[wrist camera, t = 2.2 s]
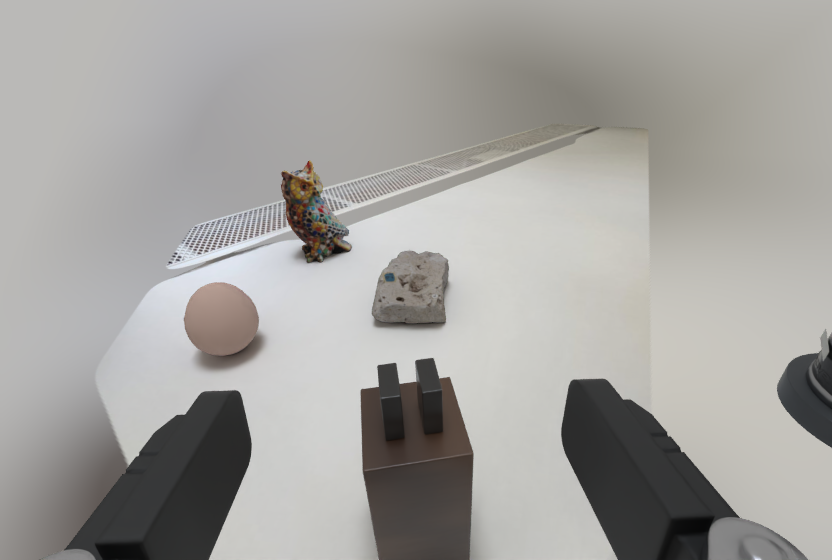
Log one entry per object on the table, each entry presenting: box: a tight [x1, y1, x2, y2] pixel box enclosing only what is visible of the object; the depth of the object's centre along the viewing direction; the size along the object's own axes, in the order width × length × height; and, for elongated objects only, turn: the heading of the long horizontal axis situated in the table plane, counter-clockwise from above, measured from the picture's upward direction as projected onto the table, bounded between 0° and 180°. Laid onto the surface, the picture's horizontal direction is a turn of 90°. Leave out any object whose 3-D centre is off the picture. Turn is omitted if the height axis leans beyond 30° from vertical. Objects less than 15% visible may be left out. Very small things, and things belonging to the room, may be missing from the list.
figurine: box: [281, 161, 351, 263], centre depth 62 cm, size 9×9×15 cm
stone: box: [372, 251, 449, 323], centre depth 50 cm, size 13×6×10 cm
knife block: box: [361, 358, 473, 560], centre depth 23 cm, size 5×5×14 cm
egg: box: [184, 283, 259, 356], centre depth 42 cm, size 7×7×8 cm
